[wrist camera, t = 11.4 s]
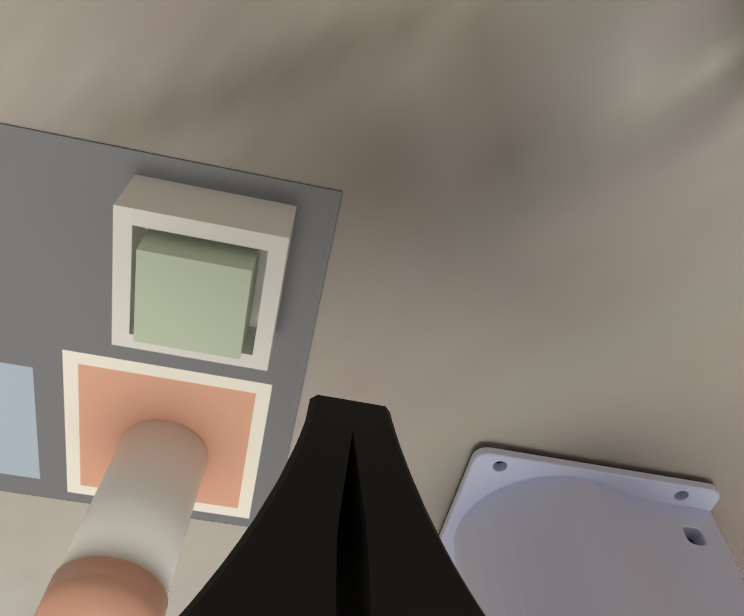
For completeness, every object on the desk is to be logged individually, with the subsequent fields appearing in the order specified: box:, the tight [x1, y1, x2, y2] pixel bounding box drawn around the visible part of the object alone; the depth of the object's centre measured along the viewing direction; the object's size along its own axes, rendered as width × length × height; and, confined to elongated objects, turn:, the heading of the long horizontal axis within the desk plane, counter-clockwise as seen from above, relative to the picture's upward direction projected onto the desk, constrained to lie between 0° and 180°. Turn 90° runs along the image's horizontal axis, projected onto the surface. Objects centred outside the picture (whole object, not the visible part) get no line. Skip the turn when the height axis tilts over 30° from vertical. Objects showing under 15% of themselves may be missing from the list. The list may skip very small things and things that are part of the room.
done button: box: [133, 229, 260, 359], centre depth 20 cm, size 3×3×2 cm
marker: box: [34, 419, 208, 616], centre depth 23 cm, size 3×3×8 cm
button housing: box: [112, 174, 297, 371], centre depth 21 cm, size 5×5×2 cm
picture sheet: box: [0, 123, 342, 527], centre depth 24 cm, size 15×15×1 cm
